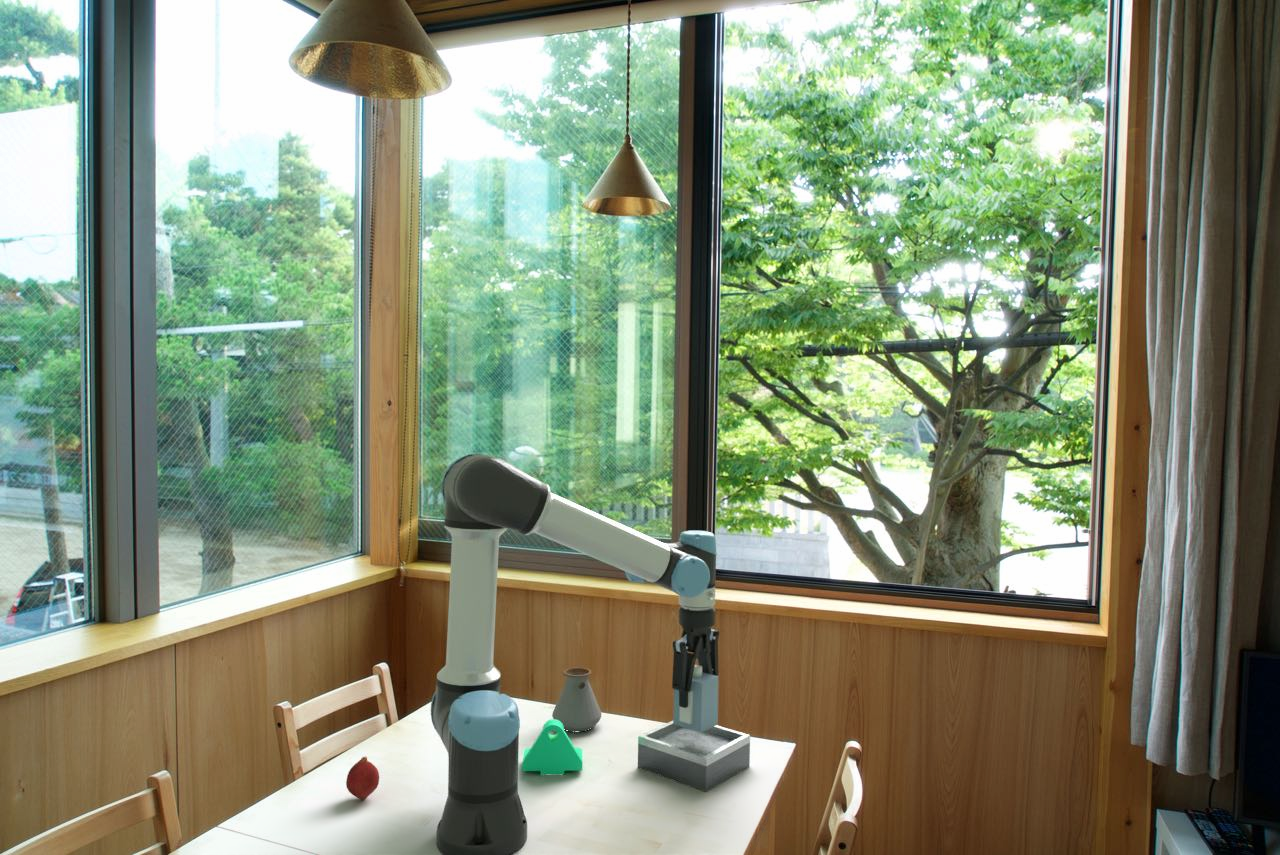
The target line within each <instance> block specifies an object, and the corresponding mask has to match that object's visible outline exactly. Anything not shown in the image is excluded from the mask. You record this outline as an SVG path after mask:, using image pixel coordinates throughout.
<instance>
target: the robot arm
mask: <svg viewBox="0 0 1280 855" xmlns="http://www.w3.org/2000/svg"><path fill="white" fill-rule="evenodd" d="M441 491H442V492H441V494H442V497H443V500H444V503H445V504H444V526H443V527H444V528H445V529H446V531H447V532H449V533H450V535H451V549H450V550H451V554H450V572H449V573H450V576H449V593H448V595H449V596H448V597H449V598H448V612H447V613H448V614H447V615H448V616H447V617H448V618H447V633H446V634H447V637H446V638H447V640H446V654H445V655H446V657H445V658H446V659H445V665H444V666H443V667H442V668H441V669H440V670H439V671H438V672H437V673H436V684H435V685H436V686H435V691H434V694H433V696H432V697H431V698H432V699H431V703H430V717H431V722H432V726H433V728H434V729H435V731H436V733H437V735H438V736H439V738H440V740H441V742H442V744H443V746H444V747H445V748H444V749H446V752H447V756H448V757H447V758H448V771H447V772H448V773H447V776H448V777H447V778H448V779H447V781H448V782H447V784H448V785H447V796H446V801H445V805H444V809H443V812H442V815H441V818H440V820H439V822H438V824H437V827H436V847H437V849H438V851H439V852H440V853H442V854H443V855H512V854H514V853H515V852H517V851H518V850H520V848H523V846H524V845H525V843H526V842H527V839H528V821H527V818H526V816H525V811H524V808H523V805H522V802H521V799H520V795H519V792H518V790H519V789H518V788H519V787H518V783H519V747H520V746H519V743H520V742H519V741H520V740H519V739H520V734H519V733H520V728H521V727H520V726H521V722H520V721H521V719H520V716H519V707H518V704H517V703H516V701H515V700H514V699H513V698H512V697H510V696H509V695H508V694H505V693H501V677H502V676H501V675H502V674H501V672H500V670H499V669H497V667H496V666H495V665H494V650H495V649H494V648H495V631H496V613H497V612H496V609H497V591H498V590H497V588H498V568H499V567H498V566H499V546H500V545H499V544H500V537H501V535H502V534H504V532H506V531H507V530H511V531H514V532H516V533H519V534H521V535H522V536H523V535H524V536H528V535H531V534H533V533H534V534H535V535H536V534H537V535H538V536H541V537H544V538H546V539H547V540H550V541H552V542H555V543H557V544H559V545H562V546H565V547H566V548H569V549H572V550H574V551H577V552H579V553H581V554H583V555H585V556H588V557H591V558H592V559H596V560H598V561H600V562H603V563H605V564H607V565H610V566H613V567H615V568H616V569H620V570H622V571H624V574H625V577H626V578H627V580H628V581H629V582H631V583H641V584H642V583H643V584H644V583H648V582H649V583H653V584H654V585H656V586H659V587H661V588H662V589H663V588H664V589H666V590H668V591H670V592H673V593H675V594H676V595H678V604H679V605H680V606H679V608H678V625H680V626H681V628H682V634H681V638H680V639H678V640H673V641H672V650H673V662H672V664H673V665H672V681H671V684H672V685H671V689H673V690H674V689H676V690H679V706H680V718H679V721H681V722H685V723H688V724H692V710H693V691H690V688H691V683H692V677H693V672H694V666H695V665H696V660H697V662H698V665H701V666H702V672H703V673H707V674H711V675H715V676H718V677H719V638H720V637H719V636H720V631H719V630H716V629H712V628H713V627H714V626H715V623H716V608H715V607H714V606H715V605H716V573H717V571H716V567H717V542H716V536H715V534H714V533H712V532H710V531H708V530H686V531H685V530H684V531H682V532H681V533H680V534H679V539H678V541H676V542H675V541H674V542H661V541H659V540H657V539H655V538H653V537H651V536H649V535H646V534H644V533H642V532H639V531H638V530H635V529H633V528H631V527H629V526H626V525H624V524H622V523H620V522H617V521H615V520H613V519H611V518H608V517H606V516H604V515H602V514H599V513H597V512H595V511H593V510H590V509H588V508H586V507H584V506H582V505H580V504H577V503H575V502H573V501H571V500H568V499H566V498H564V497H562V496H560V495H558V494H555V493H553V492H552V491H551V488H550V486H549V485H548V484H547V483H545V482H542V481H541V480H538V479H537V478H535V477H532V476H531V475H529V474H528V473H526V472H524V471H522V470H521V469H519V468H518V467H516V466H515V465H513V464H512V463H510V462H508V461H506V460H505V459H503V458H500V457H496V456H491V455H488V454H484V453H479V452H477V453H469V454H467V455H463V456H460V457H459V458H456V459H455V460H454V461H453V462H452V463H451V464H449V466H448V467H447V468H446V470H445V471H444V474H443V476H442V481H441ZM685 684H686V685H685Z"/></svg>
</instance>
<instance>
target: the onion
mask: <svg viewBox="0 0 1280 855" xmlns="http://www.w3.org/2000/svg"><path fill="white" fill-rule="evenodd" d="M379 782H380V773H379V770H378V768H377V767H376V766H375V765H374V764H373V763H372V762H370V761H368V757H367V756H362V757H361V759H359V761H357V762H356V763H355V764H354V765H352V767H351V768H350V769H349V771H348V774H347V776H346V780H345V786H346V789H347V791H348V792H349V793H350V794H351V795H352V796H354V797H356V798H357V799H359V800H362V801H364V800H366V799H367V798H368V797H369V796H370V795H372V793H374V791H376V790H377V788H378V786H379Z"/></svg>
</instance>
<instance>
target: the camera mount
mask: <svg viewBox="0 0 1280 855" xmlns="http://www.w3.org/2000/svg"><path fill="white" fill-rule="evenodd" d="M551 731H554V732H556V734H550V732H551ZM566 732H567V731H564V726H563V724H562V723H561V722H560V721H559V720H556V719H553V718H552V719H549V720H547V721H546V722H545V723H544V724H543V726H542V730H541V731H540V733H539V734H538V736H537V738H536V739H535V741H534V742H533V744H532V745H531V747H528V748H524V751H523V756H522V763H521V764H522V766H521V769H522V772H540V776H544V775H543V774H564V775H565V771H566V772H567V771H583V749H582V748H581V747H575V745H574V743H573V742H572V740H571V738H570V737H569V736H568V734H567V733H566Z"/></svg>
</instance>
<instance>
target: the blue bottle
mask: <svg viewBox="0 0 1280 855" xmlns="http://www.w3.org/2000/svg"><path fill="white" fill-rule="evenodd" d="M685 685H686V684H685ZM690 691H693V710H692V724H688V723H685V722H681V721H679V718H680V706H679V690H676V689H673V717H672V721H673V724H674V725H678V726H681V727H684V728H688V729H691V730H694V731H697V732H703V731H705V730H707V729H709V728H711V727H713V726H715V725H717V726H718V724H719V721H718V720H719V719H718V718H719V675H718V676H715V675H711V674H707V673H703V672H702V666H701V665H699V664H695V666H694V672H693V677H692V683H691V688H690Z"/></svg>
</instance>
